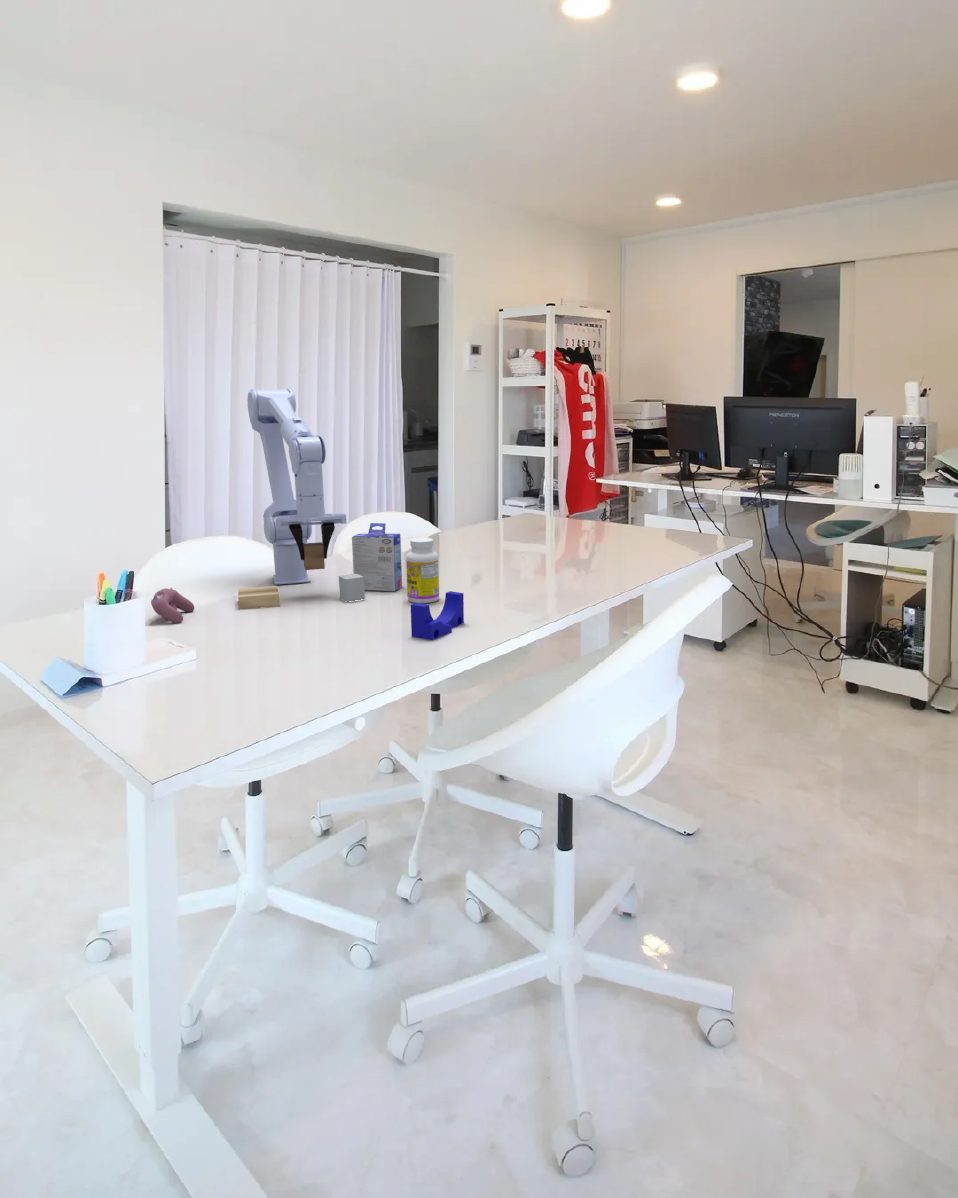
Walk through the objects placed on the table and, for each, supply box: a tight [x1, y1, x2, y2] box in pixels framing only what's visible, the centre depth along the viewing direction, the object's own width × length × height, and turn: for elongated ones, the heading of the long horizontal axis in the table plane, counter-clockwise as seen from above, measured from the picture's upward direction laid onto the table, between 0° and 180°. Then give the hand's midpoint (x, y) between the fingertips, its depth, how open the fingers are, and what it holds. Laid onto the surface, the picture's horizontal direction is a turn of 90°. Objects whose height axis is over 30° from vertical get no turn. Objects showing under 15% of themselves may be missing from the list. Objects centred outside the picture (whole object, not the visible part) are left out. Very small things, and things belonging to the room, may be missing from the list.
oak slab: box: [237, 585, 281, 610], centre depth 168 cm, size 8×8×3 cm
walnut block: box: [303, 541, 326, 571], centre depth 172 cm, size 4×4×5 cm
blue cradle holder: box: [410, 590, 465, 641], centre depth 146 cm, size 12×4×6 cm, turn 146°
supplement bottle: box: [405, 537, 440, 604], centre depth 168 cm, size 7×7×13 cm
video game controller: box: [150, 587, 195, 624], centre depth 158 cm, size 10×5×7 cm, turn 5°
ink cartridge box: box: [351, 522, 403, 592], centre depth 179 cm, size 10×6×14 cm, turn 79°
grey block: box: [338, 573, 366, 603], centre depth 170 cm, size 4×4×5 cm
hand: (313, 558), depth 173 cm, fingers closed on walnut block, 4 cm apart
